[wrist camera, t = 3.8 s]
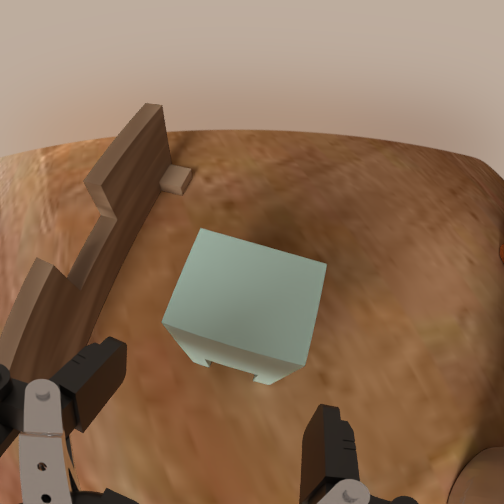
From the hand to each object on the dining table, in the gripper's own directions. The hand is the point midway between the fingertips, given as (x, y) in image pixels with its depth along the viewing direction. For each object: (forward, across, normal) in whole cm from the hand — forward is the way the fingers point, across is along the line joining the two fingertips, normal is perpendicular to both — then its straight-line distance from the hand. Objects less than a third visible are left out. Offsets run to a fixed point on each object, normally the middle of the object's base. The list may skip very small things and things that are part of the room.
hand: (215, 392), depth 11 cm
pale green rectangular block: (+10, 0, +4) cm, 11 cm away
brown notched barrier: (+11, +12, +3) cm, 17 cm away
